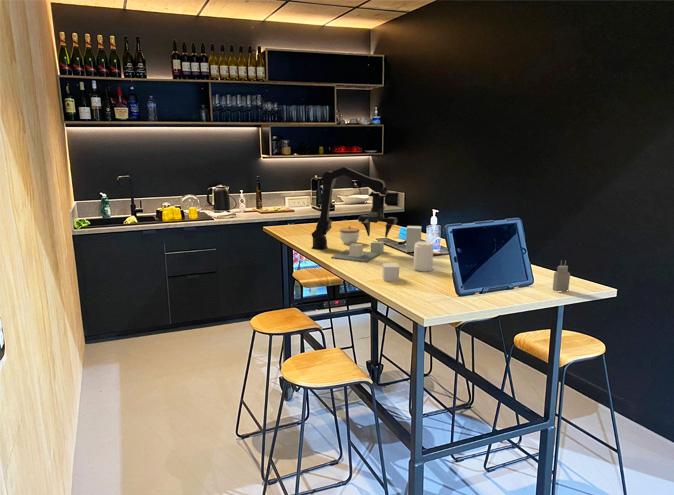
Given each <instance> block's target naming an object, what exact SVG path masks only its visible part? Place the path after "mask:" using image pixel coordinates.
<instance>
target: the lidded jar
mask: <svg viewBox="0 0 674 495" xmlns="http://www.w3.org/2000/svg"><path fill="white" fill-rule="evenodd" d="M339 237H340V240H341V241H342V242H343V244H344V245H351V244H353V243H357V242H358V240H359V237H360V228H358V227H351V225H348V227H341V228H340V229H339Z"/></svg>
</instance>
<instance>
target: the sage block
mask: <svg viewBox="0 0 674 495" xmlns="http://www.w3.org/2000/svg"><path fill="white" fill-rule="evenodd" d="M384 246H385V242H384V241H377V240H375V241H372V242H371V243H370V252H375V253H380V254H382V253H384V251H385V250H384V249H385V248H384Z"/></svg>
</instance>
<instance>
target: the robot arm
mask: <svg viewBox="0 0 674 495" xmlns="http://www.w3.org/2000/svg"><path fill="white" fill-rule="evenodd" d="M343 176H346V177H348V178H350V179H352V180H354V181H356V182H359V183H360V184H363V185H365V186H366V187H368V188H369V189H370V190H372V191H371V192H370V193H369V194H368V197H372V199H371V201H372V203H371V208H370V209H371V210H370V212H369V213H368V214H361V215H359V216H358V223H360V224H362V226H364V228H365V231H366V233H367V236H368V237H369V236H370V234H371V223H374V224H376V223H379V222H381V223H386V224H385V232H384V234H385V236H384V238H386V239H387V237H388V235H389V233H390V231H391V228H392V227H393V226H394V225H396V224H397V223H398V218H397V217H396V216H395V217H394V216H388V217H385V215H384V214H385V213H384V210H385V205H386V206H387V207H399V206H400V201H401V199H400V192H398V191H396V192H390V191H389V190H388V187H386V183H385V180H382V179H380V178H374V177H370V176H368V175H365V174H363V173H361V172H359V171H356V170H354V169H352V168H349V166H343V167H341V168H338V169H335V170H329V171H325V172H324V173H323V174H322V177H321V181H322V187H323V191H322V192H323V194H322V199H321V209H320V217H318V218H319V219H318V221H317V223H316V227H315V230H314V231H313V232H311V237H312V247H311V249H312V250H313V249H315V250H325V249H328V240H327V233H329V231H331V229H332V224H333V220H332V219H330V210H331V202H332V195H333V189H334V187H335V185H336V181H337V179H338V178H341V177H343Z"/></svg>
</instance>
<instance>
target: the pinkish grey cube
mask: <svg viewBox="0 0 674 495" xmlns="http://www.w3.org/2000/svg"><path fill="white" fill-rule="evenodd" d="M381 267H382V268H381V270H382V272H381V274H382V275H381V278H382V280H383V282H399V279H400V266H399V264H398V263H397V262H394V263H393V262H390V263H389V262H386V263H382V266H381Z"/></svg>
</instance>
